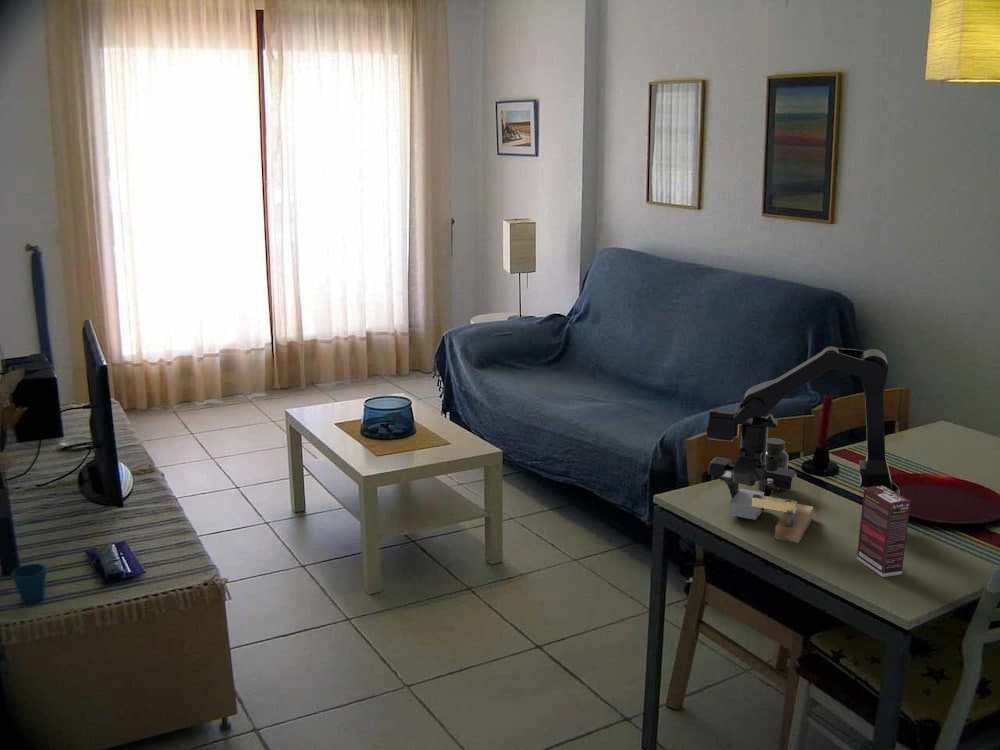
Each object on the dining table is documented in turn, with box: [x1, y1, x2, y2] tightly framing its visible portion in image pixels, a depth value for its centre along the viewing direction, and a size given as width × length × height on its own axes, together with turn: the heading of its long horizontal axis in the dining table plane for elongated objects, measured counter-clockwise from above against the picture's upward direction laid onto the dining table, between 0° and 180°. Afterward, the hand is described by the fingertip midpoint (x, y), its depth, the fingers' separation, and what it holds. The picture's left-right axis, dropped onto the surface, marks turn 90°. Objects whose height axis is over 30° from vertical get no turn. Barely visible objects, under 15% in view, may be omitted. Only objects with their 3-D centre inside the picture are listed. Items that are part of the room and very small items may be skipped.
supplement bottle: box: [756, 437, 789, 493], centre depth 232 cm, size 7×7×12 cm
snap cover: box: [728, 488, 764, 521], centre depth 217 cm, size 6×9×3 cm, turn 151°
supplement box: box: [856, 486, 912, 578], centre depth 192 cm, size 9×5×16 cm, turn 16°
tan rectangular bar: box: [752, 494, 798, 513], centre depth 206 cm, size 2×9×2 cm, turn 64°
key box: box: [774, 503, 814, 544], centre depth 210 cm, size 5×14×6 cm, turn 151°
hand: (749, 507), depth 219 cm, fingers closed on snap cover, 6 cm apart
